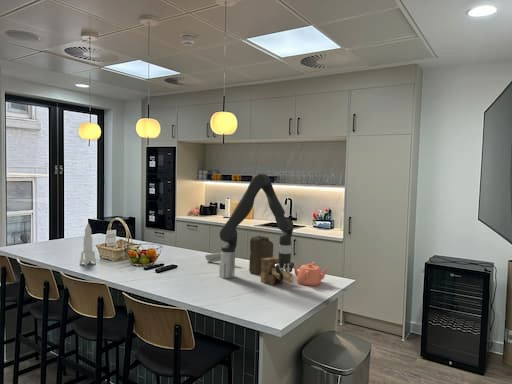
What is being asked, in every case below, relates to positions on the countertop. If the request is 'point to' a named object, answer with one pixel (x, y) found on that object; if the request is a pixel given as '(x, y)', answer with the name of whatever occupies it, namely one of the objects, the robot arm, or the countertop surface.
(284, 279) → the rail
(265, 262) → the slotted wooden stand
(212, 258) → the gun
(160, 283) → the countertop surface
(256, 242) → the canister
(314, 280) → the pot
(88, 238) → the sculpture
